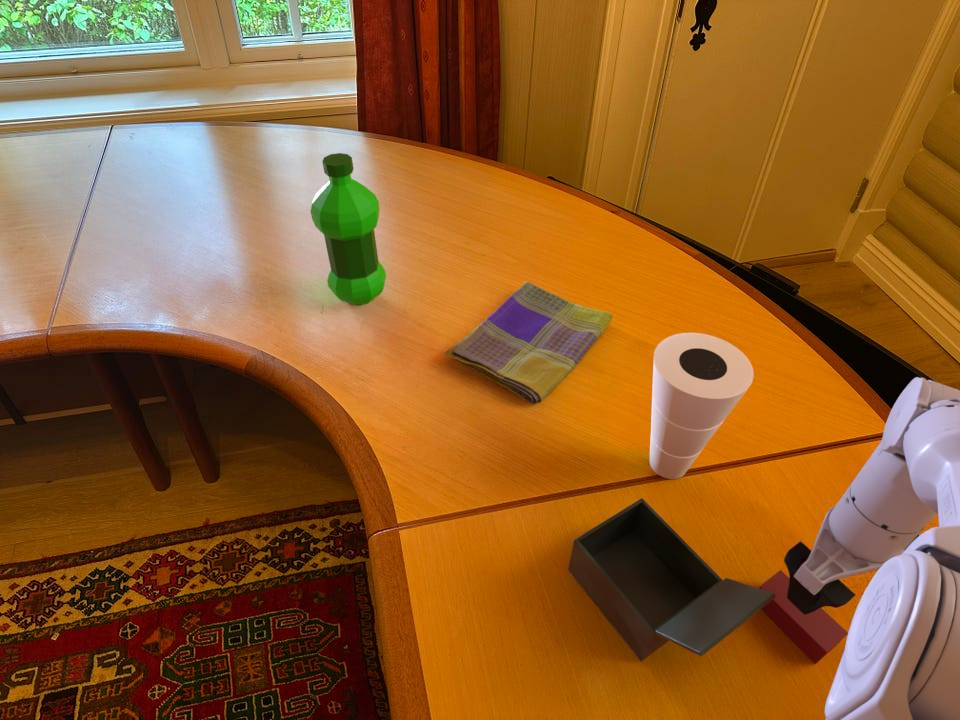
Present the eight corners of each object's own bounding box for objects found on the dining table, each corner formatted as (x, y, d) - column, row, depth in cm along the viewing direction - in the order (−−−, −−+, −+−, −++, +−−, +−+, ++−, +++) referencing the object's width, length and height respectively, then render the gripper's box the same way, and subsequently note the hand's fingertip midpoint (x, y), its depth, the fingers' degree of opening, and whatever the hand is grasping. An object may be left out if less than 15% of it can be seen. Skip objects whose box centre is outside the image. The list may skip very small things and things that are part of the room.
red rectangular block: (836, 645, 62) (848, 633, 60) (815, 664, 61) (827, 652, 59) (771, 583, 67) (780, 569, 65) (750, 599, 66) (759, 586, 64)
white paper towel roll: (726, 467, 79) (772, 367, 66) (677, 513, 74) (717, 414, 61) (659, 420, 85) (690, 320, 72) (610, 460, 79) (634, 360, 67)
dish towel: (616, 326, 100) (619, 312, 98) (534, 412, 86) (535, 399, 84) (528, 287, 108) (529, 274, 106) (440, 361, 93) (439, 347, 92)
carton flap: (726, 577, 60) (727, 581, 60) (654, 630, 56) (656, 634, 56) (774, 592, 55) (776, 596, 55) (699, 652, 51) (701, 656, 51)
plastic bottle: (375, 319, 101) (354, 179, 84) (319, 307, 103) (287, 169, 86) (399, 285, 108) (384, 150, 91) (346, 275, 110) (321, 141, 93)
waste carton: (708, 610, 65) (724, 582, 60) (640, 662, 61) (653, 635, 57) (632, 528, 72) (642, 497, 68) (567, 569, 68) (573, 539, 64)
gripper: (883, 589, 44) (812, 662, 53) (986, 497, 49) (906, 578, 59) (798, 517, 48) (747, 596, 57) (902, 440, 54) (840, 524, 63)
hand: (823, 583), depth 58 cm, fingers open, 7 cm apart
